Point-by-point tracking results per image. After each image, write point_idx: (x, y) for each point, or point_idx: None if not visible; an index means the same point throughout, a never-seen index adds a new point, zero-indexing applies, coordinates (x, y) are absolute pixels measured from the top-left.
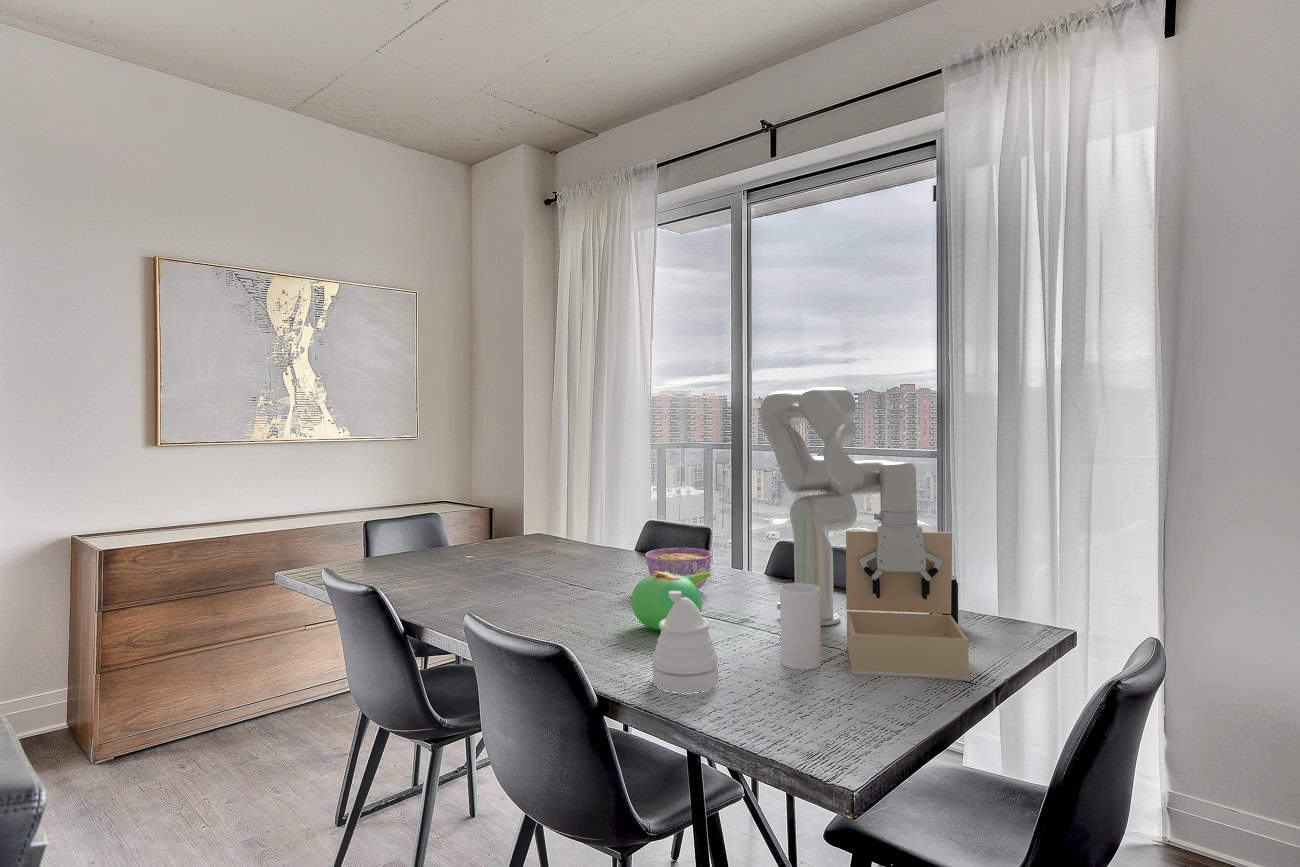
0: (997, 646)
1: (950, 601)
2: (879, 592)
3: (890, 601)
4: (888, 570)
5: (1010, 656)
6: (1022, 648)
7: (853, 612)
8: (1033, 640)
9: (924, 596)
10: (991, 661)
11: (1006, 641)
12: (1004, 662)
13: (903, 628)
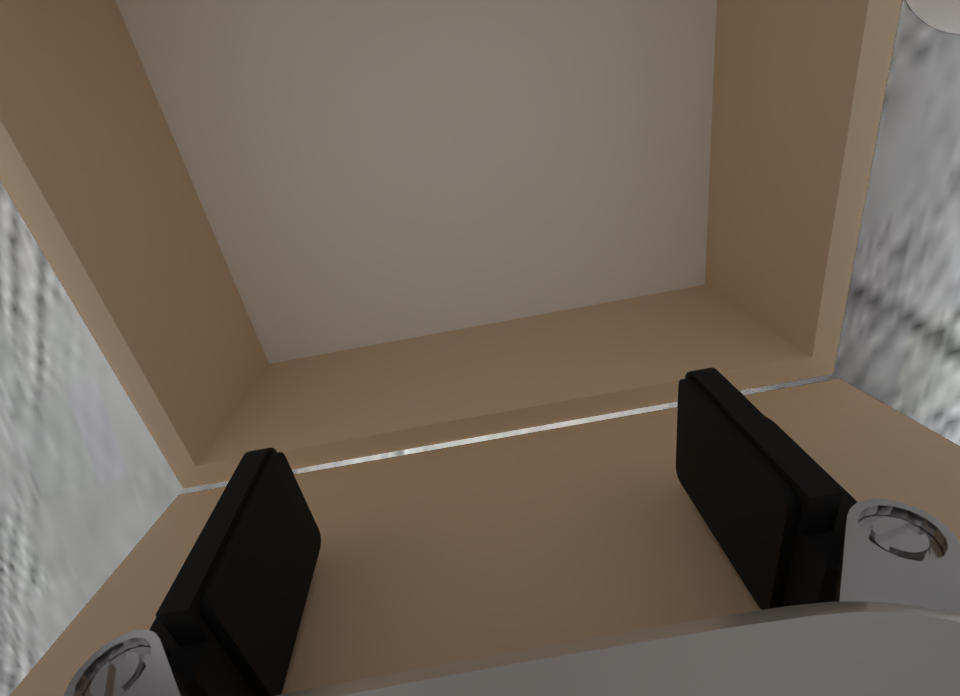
0: (113, 495)
1: (128, 557)
2: (712, 402)
3: (566, 470)
4: (796, 633)
5: (21, 394)
6: (19, 502)
7: (790, 360)
8: (20, 593)
9: (263, 463)
10: (68, 300)
11: (102, 556)
12: (12, 305)
13: (465, 371)
